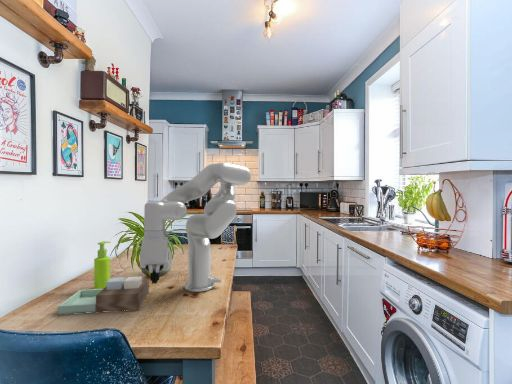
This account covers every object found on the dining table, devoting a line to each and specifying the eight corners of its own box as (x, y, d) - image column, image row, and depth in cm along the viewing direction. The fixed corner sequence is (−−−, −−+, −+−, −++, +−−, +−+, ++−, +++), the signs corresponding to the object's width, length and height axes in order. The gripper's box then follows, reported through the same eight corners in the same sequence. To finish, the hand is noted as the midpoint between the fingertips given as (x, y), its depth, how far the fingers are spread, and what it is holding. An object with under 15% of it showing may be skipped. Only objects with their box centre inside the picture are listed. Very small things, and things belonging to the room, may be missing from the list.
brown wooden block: (148, 293, 116) (148, 279, 116) (138, 310, 100) (138, 293, 100) (112, 295, 114) (112, 280, 114) (96, 312, 98) (95, 295, 98)
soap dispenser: (114, 286, 125) (114, 240, 125) (102, 291, 118) (102, 243, 118) (103, 285, 127) (103, 240, 127) (91, 290, 120) (90, 243, 120)
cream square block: (141, 283, 110) (141, 276, 110) (138, 288, 105) (138, 280, 105) (128, 284, 109) (127, 277, 109) (123, 288, 104) (123, 281, 104)
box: (111, 295, 114) (111, 288, 114) (95, 312, 98) (95, 304, 98) (79, 297, 112) (79, 289, 112) (58, 315, 96) (57, 306, 96)
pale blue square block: (125, 284, 109) (125, 277, 109) (121, 289, 104) (121, 281, 104) (111, 285, 108) (111, 277, 108) (106, 289, 104) (106, 282, 103)
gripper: (176, 232, 113) (176, 278, 113) (136, 233, 111) (136, 280, 111) (173, 235, 106) (173, 284, 106) (131, 236, 103) (131, 286, 104)
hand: (154, 282), depth 108 cm, fingers closed
